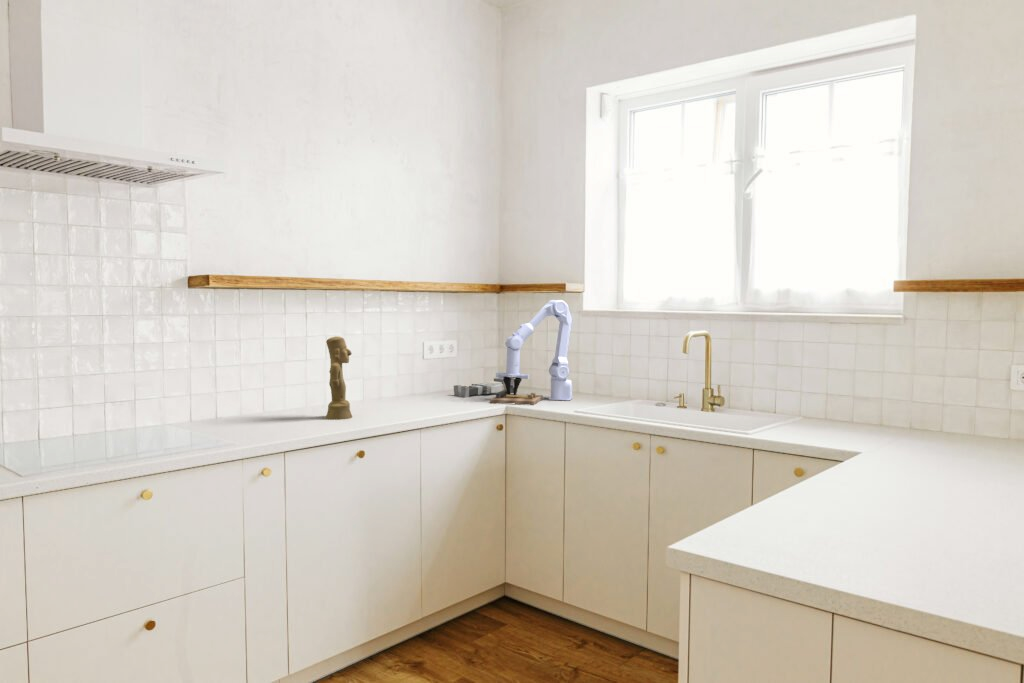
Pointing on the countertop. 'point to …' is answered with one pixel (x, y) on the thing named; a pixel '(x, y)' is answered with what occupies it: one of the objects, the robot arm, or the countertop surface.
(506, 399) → the brown wooden board
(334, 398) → the statue
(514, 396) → the yellow rectangular block
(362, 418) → the countertop surface
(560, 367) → the robot arm
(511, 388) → the knobbed plate
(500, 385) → the toy figure
